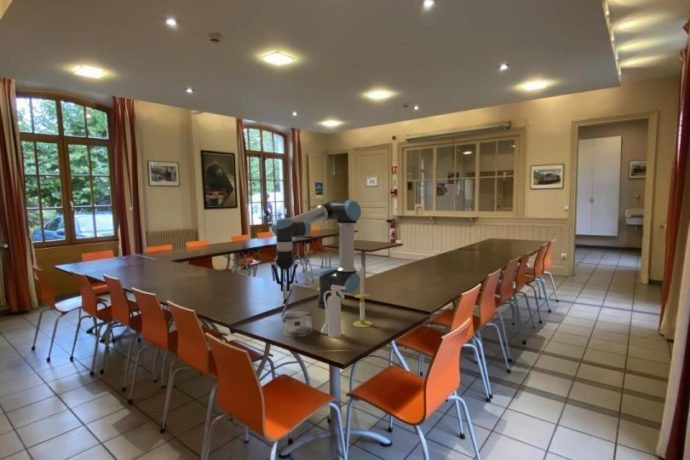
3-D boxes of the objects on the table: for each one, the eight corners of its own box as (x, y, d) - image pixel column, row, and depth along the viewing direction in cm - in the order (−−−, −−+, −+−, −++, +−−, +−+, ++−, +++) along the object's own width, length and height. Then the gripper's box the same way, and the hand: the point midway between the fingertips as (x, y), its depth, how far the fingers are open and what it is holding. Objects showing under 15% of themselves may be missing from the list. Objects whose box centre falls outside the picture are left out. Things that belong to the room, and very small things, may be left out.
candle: (349, 323, 190) (348, 262, 187) (363, 319, 196) (363, 260, 193) (361, 329, 182) (360, 265, 179) (376, 324, 187) (375, 263, 185)
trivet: (312, 326, 186) (312, 325, 186) (312, 336, 173) (312, 335, 173) (285, 327, 185) (285, 326, 185) (283, 338, 171) (283, 337, 171)
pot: (311, 323, 189) (311, 309, 188) (311, 337, 170) (311, 320, 170) (285, 325, 187) (284, 310, 187) (281, 338, 169) (281, 322, 169)
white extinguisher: (323, 331, 179) (323, 282, 176) (346, 334, 175) (347, 284, 172) (318, 336, 172) (318, 286, 169) (342, 340, 169) (342, 288, 166)
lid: (293, 285, 184) (289, 284, 184) (291, 292, 170) (287, 291, 170) (284, 312, 185) (280, 311, 184) (281, 321, 171) (277, 320, 171)
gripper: (298, 249, 179) (299, 295, 181) (271, 249, 178) (272, 296, 180) (298, 251, 172) (298, 299, 174) (269, 251, 171) (270, 300, 173)
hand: (285, 297), depth 177 cm, fingers closed
